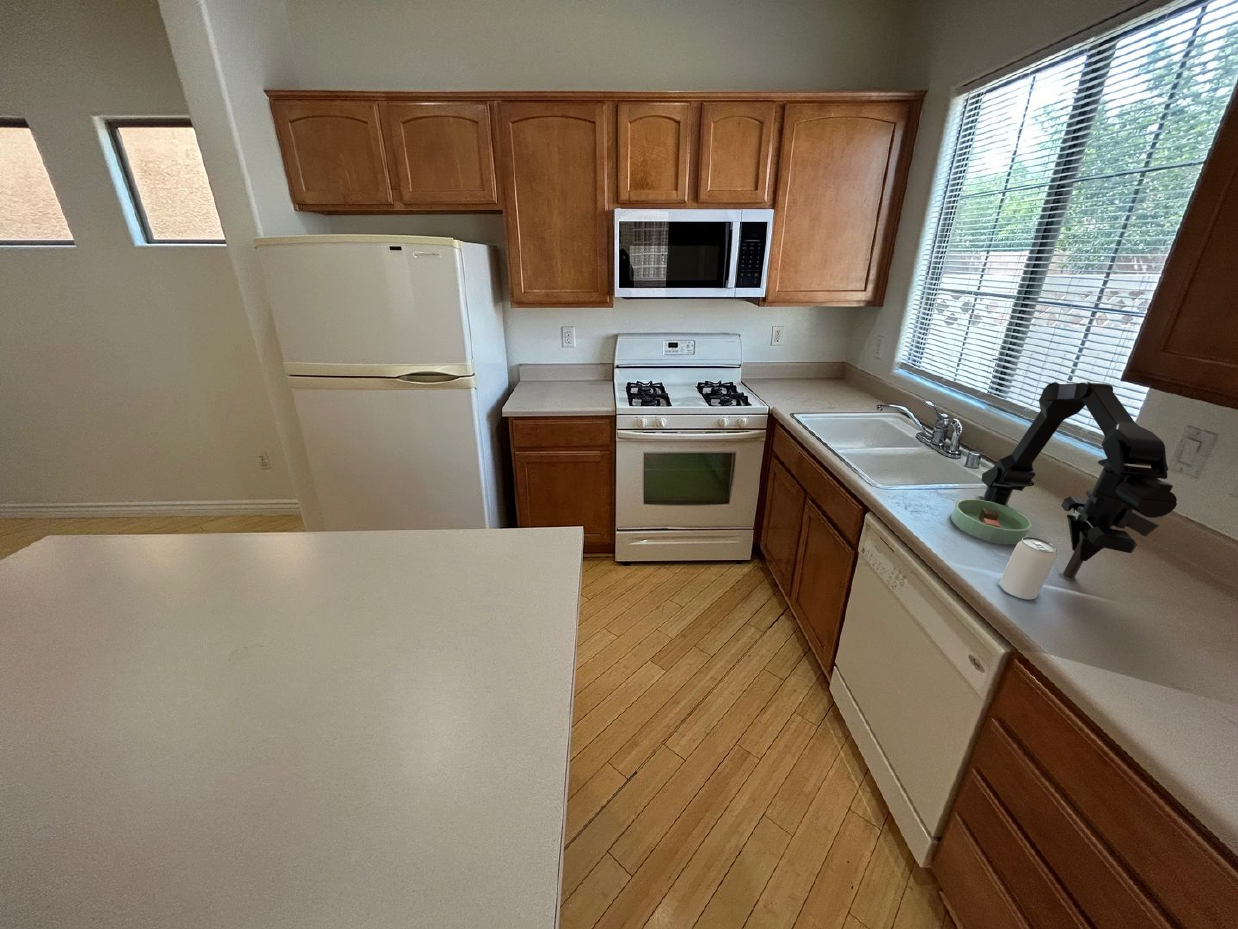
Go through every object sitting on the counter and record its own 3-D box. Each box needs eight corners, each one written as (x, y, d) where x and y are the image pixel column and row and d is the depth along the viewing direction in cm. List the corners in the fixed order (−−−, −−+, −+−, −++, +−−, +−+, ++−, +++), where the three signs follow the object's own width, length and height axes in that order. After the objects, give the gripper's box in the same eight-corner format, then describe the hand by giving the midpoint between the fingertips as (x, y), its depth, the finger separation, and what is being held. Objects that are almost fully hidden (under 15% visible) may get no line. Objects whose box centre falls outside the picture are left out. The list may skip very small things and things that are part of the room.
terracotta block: (979, 527, 124) (983, 518, 123) (993, 530, 123) (997, 520, 122) (982, 533, 122) (986, 523, 121) (996, 536, 121) (1000, 526, 120)
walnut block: (978, 517, 129) (982, 508, 128) (992, 520, 128) (995, 510, 127) (981, 522, 127) (985, 513, 126) (994, 525, 126) (998, 515, 125)
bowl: (946, 508, 135) (951, 494, 133) (1014, 521, 129) (1021, 507, 127) (956, 535, 122) (962, 520, 120) (1033, 552, 116) (1041, 537, 114)
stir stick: (1060, 574, 108) (1083, 529, 103) (1071, 576, 107) (1095, 531, 102) (1063, 579, 106) (1087, 533, 101) (1074, 581, 106) (1099, 536, 101)
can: (1022, 582, 105) (1044, 536, 100) (1043, 602, 99) (1068, 554, 94) (991, 580, 105) (1012, 534, 100) (1010, 599, 99) (1033, 552, 94)
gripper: (1191, 524, 87) (1149, 591, 94) (1140, 483, 103) (1107, 543, 109) (1113, 510, 91) (1077, 575, 98) (1075, 472, 107) (1047, 531, 113)
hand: (1078, 555), depth 104 cm, fingers open, 4 cm apart
